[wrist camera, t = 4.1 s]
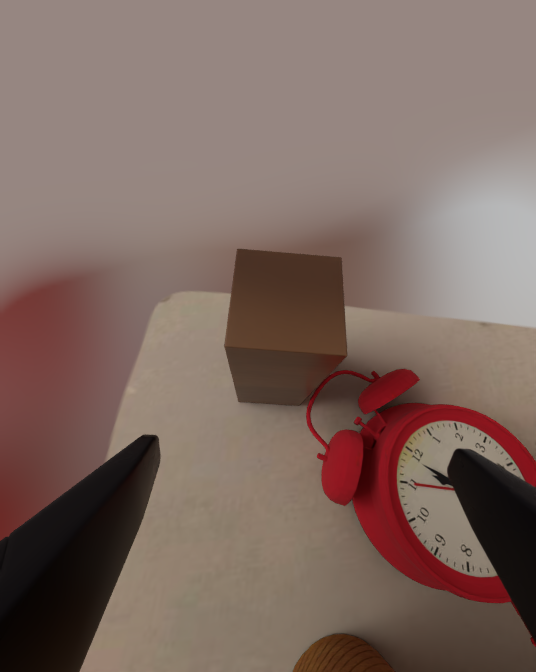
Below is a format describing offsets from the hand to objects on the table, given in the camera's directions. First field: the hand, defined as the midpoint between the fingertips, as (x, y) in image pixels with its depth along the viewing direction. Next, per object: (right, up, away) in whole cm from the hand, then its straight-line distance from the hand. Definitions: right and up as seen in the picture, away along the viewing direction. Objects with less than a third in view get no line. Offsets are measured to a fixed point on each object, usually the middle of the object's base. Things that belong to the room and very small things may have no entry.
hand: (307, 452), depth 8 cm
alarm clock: (+8, -5, +10) cm, 14 cm away
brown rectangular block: (-1, +1, +12) cm, 12 cm away
